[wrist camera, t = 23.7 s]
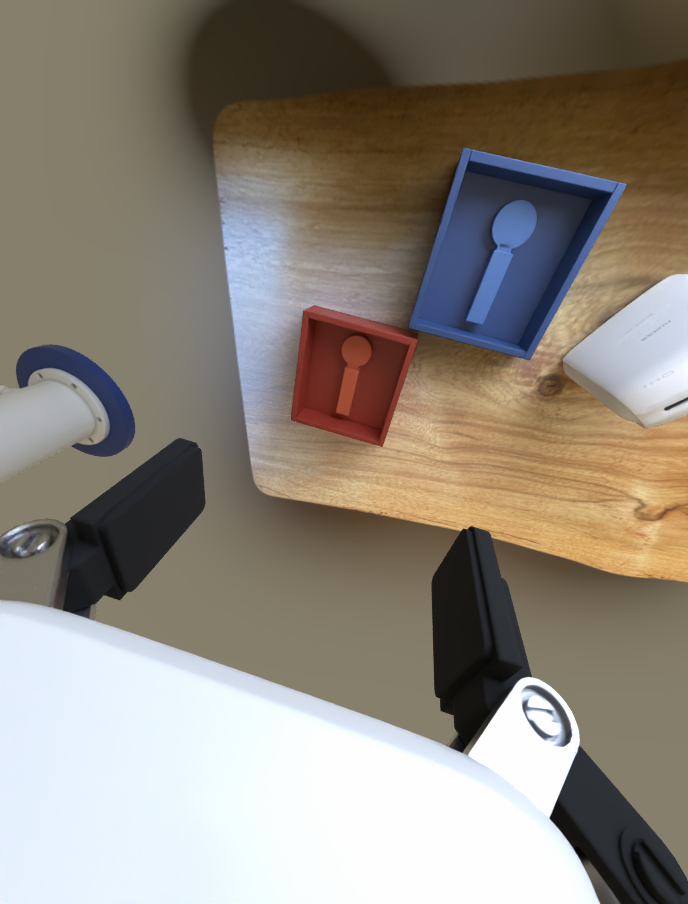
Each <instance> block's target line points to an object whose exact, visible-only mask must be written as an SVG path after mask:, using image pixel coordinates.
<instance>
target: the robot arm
mask: <svg viewBox="0 0 688 904" xmlns="http://www.w3.org/2000/svg"><path fill="white" fill-rule="evenodd" d="M109 430H110V422H109V418H108V415H107V412H106V410H105V408H104V406H103V404H102V403H101V401H100V400H99V398H98V397H97V396H96V395H95V393H94V392H93V391H92V390H91V389H90V388H89V387H88V386H87V385H86V384H84V383H83V382H82V381H81V380H79V379H78V378H76V377H75V376H73V375H71V374H69V373H68V372H65V371H63V370H60V369H56V368H44V369H41V370H37V371H35V372H33V373H32V375H31V376H30V378H29V381H28V386H27V387H24V388H21V389H20V388H14V389H12V388H10V387H7V386H3V385H0V484H1V483H3V482H5V481H7V480H9V479H10V478H12V477H14V476H16V475H18V474H20V473H21V472H24V471H25V470H27V469H29V468H31V467H33V466H34V465H37V464H38V463H40V462H42V461H44V460H46V459H47V458H50V457H51V456H53V455H55V454H57V453H58V452H61V451H63V450H64V449H66V448H68V447H70V446H72V445H74V444H76V443H80V444H85V445H93V444H97V443H99V442H101V441H103V440H104V439H105V438H106V437H107V436H108V434H109ZM204 491H205V490H204V477H203V463H202V451H201V449H200V448H198V445H197V444H196V443H195V442H192V441H188V440H185V439H182V438H178V439H176V440H175V441H174V442H172V443H171V444H170V445H168V446H167V447H166V448H164V449H163V450H161V451H160V452H159V453H157V454H156V455H155V456H153V457H152V458H150V459H149V460H148V461H146V462H145V463H144V464H142V465H141V466H140V467H138V468H137V469H136V470H134V471H133V472H132V473H131V474H129V475H128V476H126V477H125V478H123V479H122V480H121V481H119V482H118V483H117V484H116V485H114V486H113V487H111V488H110V489H109V490H107V491H106V492H105V493H103V494H102V495H101V496H99V497H98V498H97V499H95V500H94V501H92V502H91V503H90V504H88V505H87V506H86V507H84V508H83V509H82V510H80V511H79V512H78V513H76V514H75V515H74V516H72V517H71V518H70V519H71V520H70V521H68V522H67V523H66V524H63V523H62V522H60V521H58V520H54V519H39V520H33V521H29V522H25V523H23V524H20V525H18V526H16V527H13V528H12V529H10V530H8V531H7V532H5V533H3V534H2V535H1V536H0V904H688V881H687V878H686V876H685V875H684V873H683V871H682V869H681V868H680V866H679V864H678V863H677V861H676V859H675V857H674V856H673V855H672V854H671V852H670V851H669V850H668V848H667V847H666V846H665V844H664V843H663V842H662V840H661V839H660V838H659V837H658V836H657V835H656V834H655V832H654V831H653V830H652V829H651V828H650V827H649V825H648V824H647V823H646V822H645V821H644V820H643V818H642V817H641V816H640V815H639V814H638V813H637V811H636V810H635V809H634V808H633V807H632V806H631V804H630V803H629V802H628V801H627V800H626V799H625V798H624V796H623V795H622V794H621V793H620V792H619V790H618V789H617V788H616V787H615V786H614V785H613V784H612V783H611V781H610V780H609V779H608V778H607V777H606V775H605V774H604V773H603V772H602V771H601V770H600V768H599V767H598V766H597V765H596V764H595V763H594V762H593V760H592V759H591V758H590V757H589V756H588V755H587V753H586V752H585V751H584V750H583V749H582V748H581V747H580V745H579V741H580V738H579V731H578V726H577V724H576V721H575V719H574V716H573V714H572V712H571V711H570V709H569V707H568V706H567V704H566V702H565V701H564V700H563V699H562V698H561V697H560V695H559V694H558V693H557V692H556V691H555V690H553V689H552V688H551V687H550V686H549V685H548V684H546V683H544V682H542V681H540V680H539V679H535V678H532V676H531V672H530V668H529V664H528V660H527V657H526V653H525V649H524V645H523V641H522V637H521V634H520V630H519V626H518V622H517V619H516V615H515V611H514V607H513V603H512V599H511V595H510V592H509V588H508V585H507V582H506V581H505V580H504V579H503V578H501V575H500V570H499V567H498V563H497V558H496V554H495V550H494V546H493V542H492V538H491V534H490V533H489V532H488V531H485V530H482V529H479V528H475V527H472V526H471V527H469V528H468V529H463V530H462V531H461V532H460V534H459V536H458V537H457V539H456V540H455V542H454V544H453V545H452V547H451V548H450V550H449V552H448V553H447V555H446V556H445V558H444V559H443V561H442V563H441V564H440V566H439V567H438V569H437V571H436V572H435V574H434V576H433V579H432V619H433V653H434V654H433V656H434V689H435V695H436V697H438V698H440V707H441V711H442V712H445V713H448V714H451V715H454V727H455V729H456V732H455V734H454V735H453V737H452V738H451V739H450V740H449V742H448V743H447V744H446V746H445V745H443V744H440V743H438V742H436V741H433V740H431V739H428V738H425V737H423V736H420V735H417V734H415V733H412V732H409V731H407V730H404V729H401V728H399V727H396V726H393V725H391V724H388V723H386V722H383V721H380V720H378V719H375V718H372V717H369V716H366V715H364V714H361V713H358V712H355V711H352V710H350V709H347V708H344V707H341V706H338V705H335V704H333V703H330V702H327V701H324V700H321V699H319V698H316V697H313V696H310V695H307V694H305V693H301V692H299V691H296V690H293V689H291V688H288V687H285V686H282V685H279V684H276V683H273V682H271V681H267V680H265V679H262V678H259V677H256V676H254V675H251V674H248V673H245V672H242V671H239V670H237V669H234V668H231V667H228V666H225V665H222V664H219V663H217V662H213V661H211V660H208V659H205V658H202V657H199V656H197V655H194V654H191V653H188V652H185V651H182V650H179V649H176V648H173V647H171V646H167V645H165V644H162V643H159V642H156V641H153V640H150V639H147V638H144V637H141V636H138V635H136V634H133V633H130V632H127V631H124V630H121V629H118V628H115V627H112V626H109V625H106V624H103V623H100V622H97V621H95V615H96V604H97V602H98V601H99V599H101V598H102V596H103V595H106V596H109V597H112V598H114V599H117V600H120V599H122V598H123V596H124V595H125V594H126V593H127V592H131V591H133V590H134V589H135V588H136V587H137V586H138V585H139V584H140V583H141V582H142V581H143V579H144V578H145V577H146V576H147V575H148V573H149V572H150V571H151V570H152V569H153V568H154V567H155V566H156V564H157V563H158V562H159V561H160V560H161V559H162V557H163V556H164V555H165V554H166V553H167V552H168V551H169V549H170V548H171V547H172V546H173V545H174V544H175V542H176V541H177V540H178V539H179V538H180V536H182V534H183V533H184V532H185V531H186V530H187V529H188V527H189V526H190V525H191V524H192V523H193V522H194V520H195V519H196V518H197V517H198V516H199V515H200V514H201V512H202V511H203V509H204V507H205V492H204Z"/></svg>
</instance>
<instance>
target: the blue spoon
mask: <svg viewBox="0 0 688 904" xmlns="http://www.w3.org/2000/svg"><path fill="white" fill-rule="evenodd" d="M536 221H537V215H536V210H535V208H534V206H533V205H532V204H531V203H530V202H528V201H526V200H515V201H512V202H510V203H508V204H507V205H505V206H504V207H502V208H501V209H500V210H499V211H498V212H497V214H496V215H495V217H494V218H493V221H492V223H491V227H490V237H491V240H492V242H493V244H494V245H495V248H494V250H491V252H490V255H489V257H488V260H487V262H486V265H485V267H484V270H483V272H482V275H481V277H480V280H479V282H478V285H477V287H476V290H475V292H474V295H473V297H472V300H471V302H470V305H469V307H468V310H467V312H466V315H465V317H464V319H465V320H466V321H468V322H472V323H476V324H480V325H483V323H484V321H485V319H486V316H487V314H488V312H489V309H490V307H491V305H492V302H493V300H494V298H495V296H496V293H497V291H498V289H499V286H500V284H501V282H502V279H503V277H504V275H505V273H506V270H507V268H508V266H509V263H510V261H511V259H512V257H513V254H510V252H511V250H512V249H515V248H517V247H519V246H521V245H522V244H524V243H525V242H526V241H527V240H528V239H529V237H530V236H531V235H532V233H533V231H534V229H535V226H536Z"/></svg>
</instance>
